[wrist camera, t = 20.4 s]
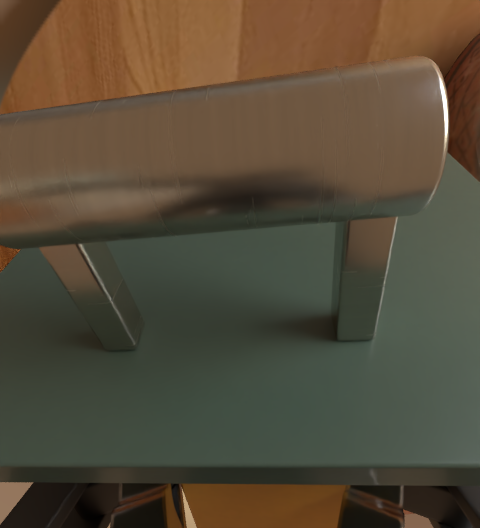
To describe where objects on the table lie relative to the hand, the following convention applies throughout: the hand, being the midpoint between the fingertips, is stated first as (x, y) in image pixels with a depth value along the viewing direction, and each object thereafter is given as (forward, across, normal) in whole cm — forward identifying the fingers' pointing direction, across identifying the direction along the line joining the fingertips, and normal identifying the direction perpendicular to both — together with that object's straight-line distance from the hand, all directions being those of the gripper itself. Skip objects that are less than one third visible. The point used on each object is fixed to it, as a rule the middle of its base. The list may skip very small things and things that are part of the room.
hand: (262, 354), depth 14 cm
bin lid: (0, 0, -5) cm, 5 cm away
